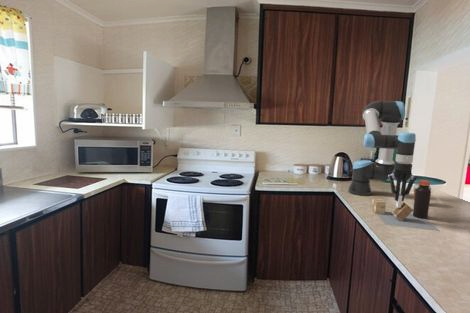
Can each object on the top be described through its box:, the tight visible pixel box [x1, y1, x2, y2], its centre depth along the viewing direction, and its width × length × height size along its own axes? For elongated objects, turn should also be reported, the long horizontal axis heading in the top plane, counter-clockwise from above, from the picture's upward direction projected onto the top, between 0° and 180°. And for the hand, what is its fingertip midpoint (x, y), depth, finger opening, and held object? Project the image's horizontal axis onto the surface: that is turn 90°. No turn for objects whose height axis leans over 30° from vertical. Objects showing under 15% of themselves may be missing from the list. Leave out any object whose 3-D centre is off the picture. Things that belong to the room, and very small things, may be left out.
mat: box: [377, 211, 441, 232], centre depth 144 cm, size 22×24×1 cm
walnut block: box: [391, 201, 413, 221], centre depth 144 cm, size 6×4×8 cm
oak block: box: [370, 198, 386, 215], centre depth 154 cm, size 5×5×7 cm
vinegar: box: [412, 179, 432, 219], centre depth 148 cm, size 7×7×20 cm
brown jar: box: [412, 183, 432, 201], centre depth 173 cm, size 10×10×12 cm
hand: (398, 206), depth 144 cm, fingers closed
